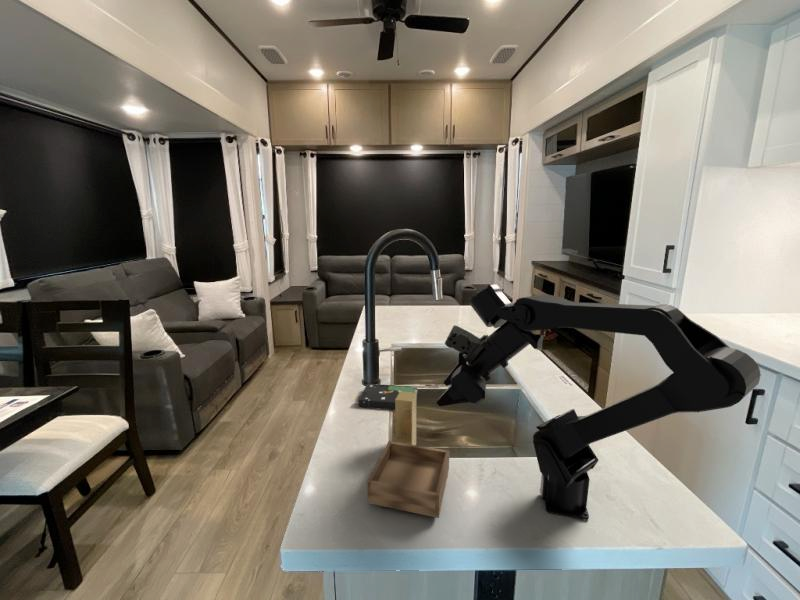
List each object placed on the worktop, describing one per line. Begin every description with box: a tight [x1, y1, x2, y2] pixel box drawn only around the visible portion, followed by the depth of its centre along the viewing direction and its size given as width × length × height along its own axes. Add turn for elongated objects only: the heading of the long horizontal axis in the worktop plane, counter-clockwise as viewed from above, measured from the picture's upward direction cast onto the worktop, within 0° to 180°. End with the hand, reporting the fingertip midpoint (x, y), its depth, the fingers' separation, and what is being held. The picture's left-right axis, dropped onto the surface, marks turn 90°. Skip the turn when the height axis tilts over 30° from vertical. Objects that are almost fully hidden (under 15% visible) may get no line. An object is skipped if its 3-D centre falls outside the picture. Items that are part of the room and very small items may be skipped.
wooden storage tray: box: [366, 440, 450, 519], centre depth 64 cm, size 12×12×5 cm
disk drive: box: [357, 383, 418, 411], centre depth 98 cm, size 10×3×15 cm
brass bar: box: [394, 391, 417, 446], centre depth 75 cm, size 4×4×12 cm
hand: (441, 393), depth 72 cm, fingers open, 9 cm apart
